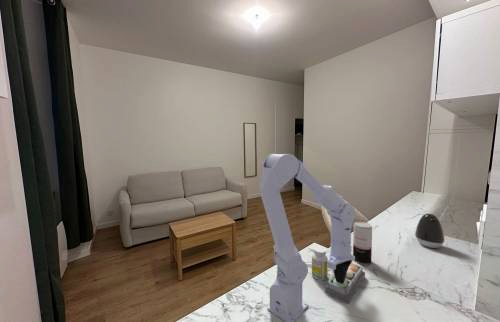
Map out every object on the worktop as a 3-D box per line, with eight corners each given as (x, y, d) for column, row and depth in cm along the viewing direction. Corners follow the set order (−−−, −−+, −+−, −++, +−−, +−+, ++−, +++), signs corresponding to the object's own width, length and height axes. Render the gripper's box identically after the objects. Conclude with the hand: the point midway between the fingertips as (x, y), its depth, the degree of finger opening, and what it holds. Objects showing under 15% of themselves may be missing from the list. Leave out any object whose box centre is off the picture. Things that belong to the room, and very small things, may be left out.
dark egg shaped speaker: (420, 248, 91) (421, 215, 90) (411, 239, 100) (412, 209, 100) (449, 252, 87) (450, 218, 86) (437, 242, 97) (438, 211, 96)
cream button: (350, 280, 64) (350, 275, 64) (337, 275, 66) (337, 270, 66) (354, 275, 66) (354, 270, 66) (342, 270, 69) (342, 265, 69)
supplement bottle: (315, 281, 68) (315, 253, 68) (309, 271, 74) (309, 246, 73) (330, 280, 69) (330, 253, 69) (323, 270, 74) (323, 245, 74)
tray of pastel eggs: (348, 304, 58) (348, 292, 58) (324, 292, 63) (325, 281, 63) (364, 277, 70) (365, 267, 70) (344, 269, 75) (344, 260, 75)
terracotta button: (355, 276, 68) (356, 271, 68) (343, 271, 70) (343, 267, 70) (359, 271, 70) (359, 266, 70) (347, 266, 73) (347, 262, 73)
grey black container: (357, 254, 86) (357, 220, 85) (374, 261, 81) (374, 224, 80) (350, 259, 82) (350, 224, 81) (367, 267, 77) (368, 228, 76)
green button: (344, 292, 60) (344, 287, 60) (331, 286, 63) (331, 281, 62) (348, 286, 63) (348, 281, 63) (335, 280, 65) (336, 275, 65)
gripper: (346, 252, 54) (345, 300, 55) (361, 235, 64) (361, 276, 65) (320, 244, 59) (320, 288, 59) (339, 230, 69) (338, 268, 70)
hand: (340, 281), depth 62 cm, fingers closed, pressing on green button
